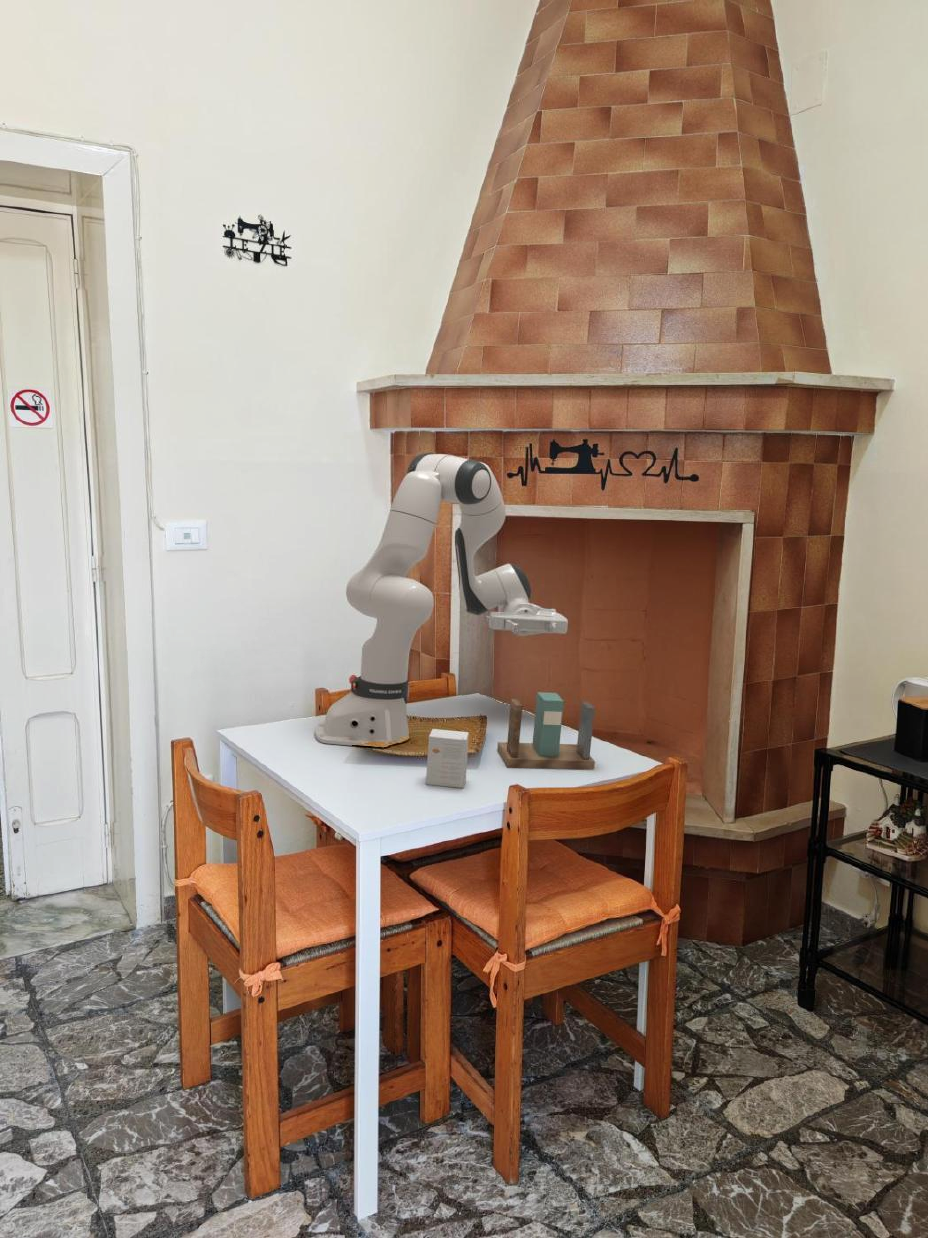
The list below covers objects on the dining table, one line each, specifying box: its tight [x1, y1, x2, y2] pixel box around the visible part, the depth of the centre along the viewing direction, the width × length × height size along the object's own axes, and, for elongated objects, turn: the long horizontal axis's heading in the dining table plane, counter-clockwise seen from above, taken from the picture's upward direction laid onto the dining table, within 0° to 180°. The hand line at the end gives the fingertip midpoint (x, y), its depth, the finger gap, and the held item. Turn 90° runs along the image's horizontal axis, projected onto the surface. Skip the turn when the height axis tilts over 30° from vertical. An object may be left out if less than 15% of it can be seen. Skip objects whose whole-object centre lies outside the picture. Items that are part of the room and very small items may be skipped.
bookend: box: [576, 701, 595, 760], centre depth 210 cm, size 2×6×12 cm, turn 9°
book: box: [531, 691, 565, 757], centre depth 211 cm, size 4×7×13 cm, turn 8°
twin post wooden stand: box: [496, 698, 596, 770], centre depth 211 cm, size 20×12×14 cm, turn 98°
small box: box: [425, 728, 470, 789], centre depth 192 cm, size 8×6×10 cm
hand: (534, 628), depth 229 cm, fingers open, 8 cm apart
